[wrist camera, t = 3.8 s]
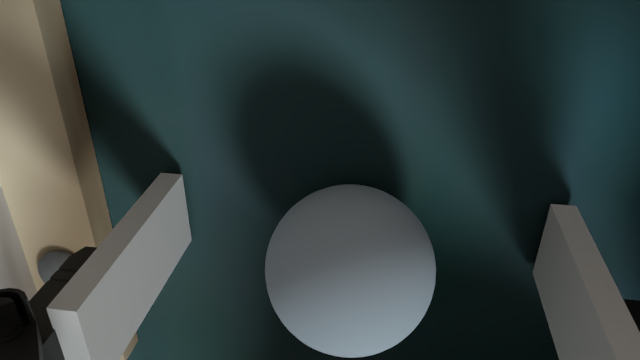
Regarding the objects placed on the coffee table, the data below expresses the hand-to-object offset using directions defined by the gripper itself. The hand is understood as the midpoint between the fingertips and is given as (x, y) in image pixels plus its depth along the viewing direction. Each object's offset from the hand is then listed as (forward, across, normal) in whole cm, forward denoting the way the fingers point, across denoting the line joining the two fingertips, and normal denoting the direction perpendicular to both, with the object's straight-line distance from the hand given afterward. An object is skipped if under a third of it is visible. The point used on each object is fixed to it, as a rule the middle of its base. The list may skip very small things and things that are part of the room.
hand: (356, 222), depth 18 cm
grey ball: (0, 0, 0) cm, 0 cm away
